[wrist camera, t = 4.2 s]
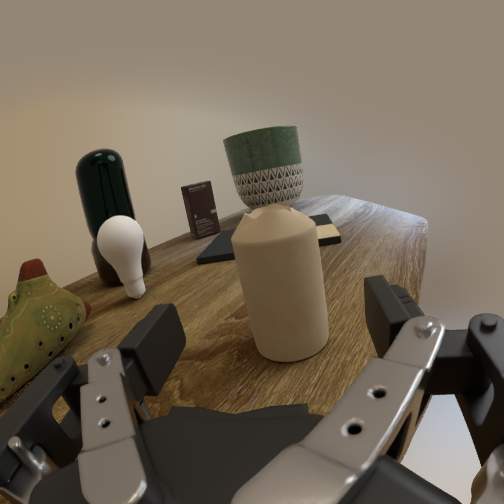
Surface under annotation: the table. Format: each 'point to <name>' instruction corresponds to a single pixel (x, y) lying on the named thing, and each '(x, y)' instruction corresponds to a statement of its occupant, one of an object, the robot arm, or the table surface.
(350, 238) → the table surface
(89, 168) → the lamp
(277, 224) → the candle
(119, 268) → the lightbulb
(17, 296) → the ocarina
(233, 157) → the planter
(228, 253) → the mat
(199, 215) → the box
